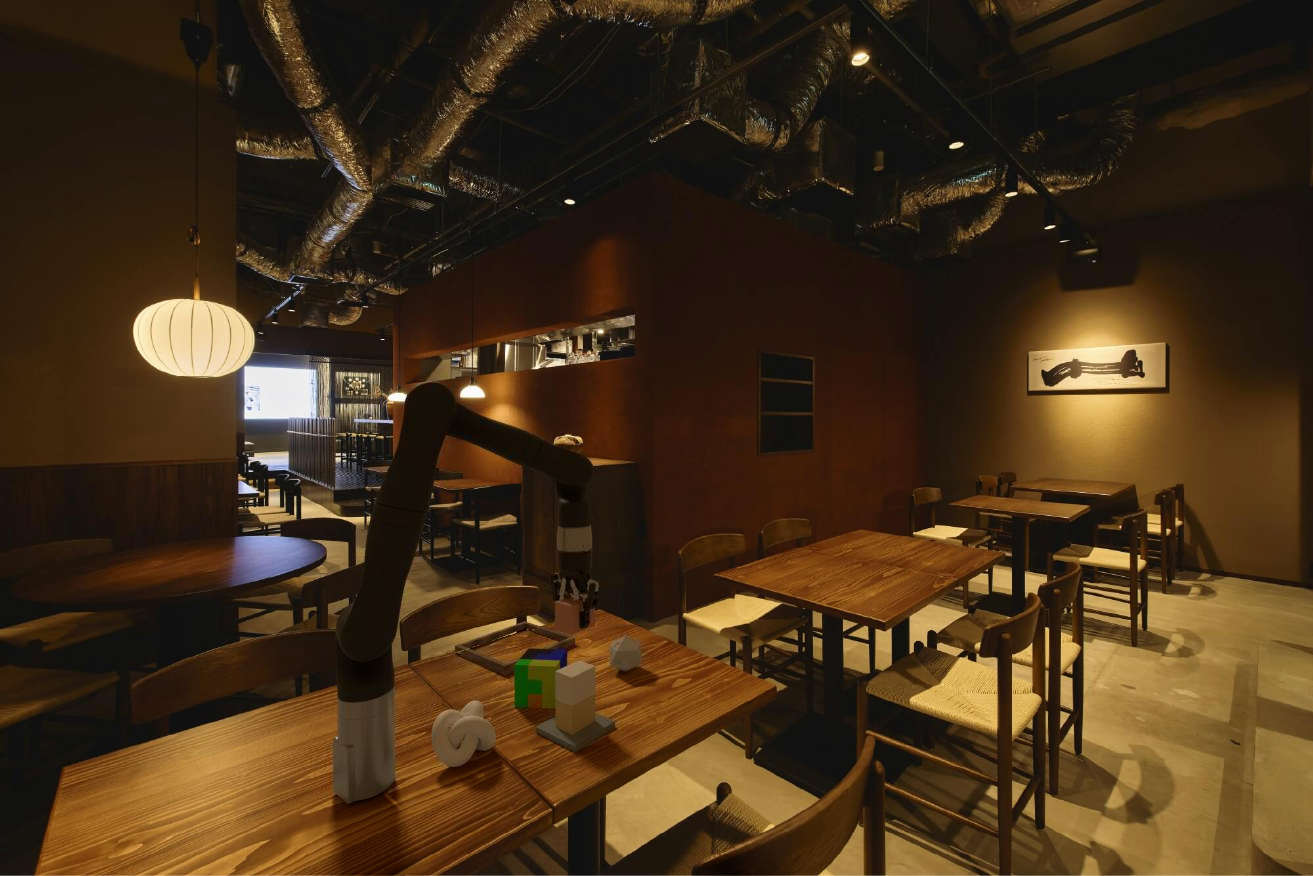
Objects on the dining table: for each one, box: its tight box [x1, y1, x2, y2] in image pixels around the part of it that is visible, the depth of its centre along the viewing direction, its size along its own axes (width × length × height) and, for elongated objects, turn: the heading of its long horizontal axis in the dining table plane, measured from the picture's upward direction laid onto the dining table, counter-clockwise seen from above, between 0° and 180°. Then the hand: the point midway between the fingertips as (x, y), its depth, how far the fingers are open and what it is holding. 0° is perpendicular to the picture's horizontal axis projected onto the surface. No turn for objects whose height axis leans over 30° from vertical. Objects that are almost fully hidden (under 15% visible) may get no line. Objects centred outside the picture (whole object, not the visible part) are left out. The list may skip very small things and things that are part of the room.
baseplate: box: [535, 712, 616, 753], centre depth 117 cm, size 12×12×1 cm
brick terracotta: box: [554, 594, 596, 636], centre depth 117 cm, size 7×5×6 cm
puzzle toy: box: [513, 647, 568, 710], centre depth 131 cm, size 10×10×10 cm
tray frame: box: [454, 621, 576, 676], centre depth 159 cm, size 25×23×3 cm
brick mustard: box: [555, 693, 596, 735], centre depth 117 cm, size 7×5×6 cm
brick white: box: [555, 660, 596, 706], centre depth 117 cm, size 7×5×6 cm
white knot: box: [431, 700, 497, 768], centre depth 108 cm, size 11×12×9 cm
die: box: [609, 634, 643, 673], centre depth 145 cm, size 8×9×10 cm
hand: (575, 624), depth 116 cm, fingers closed on brick terracotta, 5 cm apart
